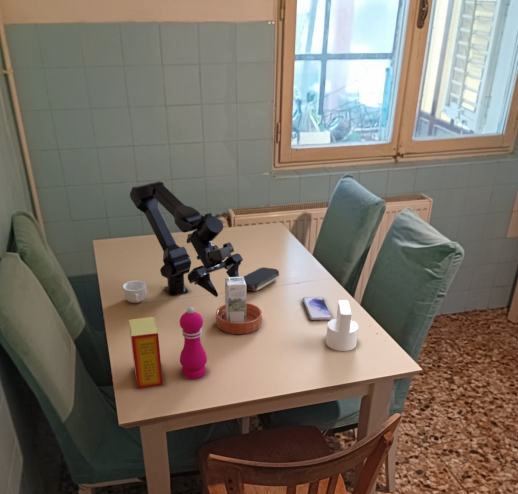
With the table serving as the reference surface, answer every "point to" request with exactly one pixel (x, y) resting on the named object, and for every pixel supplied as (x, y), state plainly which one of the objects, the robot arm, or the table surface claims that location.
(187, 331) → the pepper mill
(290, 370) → the table surface
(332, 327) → the cylinder with rectangular tab
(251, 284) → the black sponge
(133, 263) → the table surface
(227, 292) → the syrup box
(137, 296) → the teacup
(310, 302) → the smartphone
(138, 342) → the baking soda box
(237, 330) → the bowl
